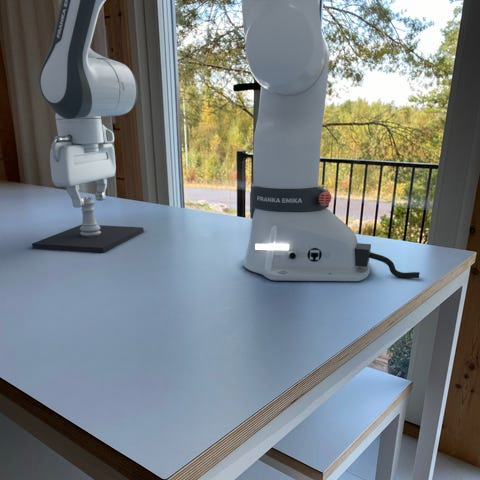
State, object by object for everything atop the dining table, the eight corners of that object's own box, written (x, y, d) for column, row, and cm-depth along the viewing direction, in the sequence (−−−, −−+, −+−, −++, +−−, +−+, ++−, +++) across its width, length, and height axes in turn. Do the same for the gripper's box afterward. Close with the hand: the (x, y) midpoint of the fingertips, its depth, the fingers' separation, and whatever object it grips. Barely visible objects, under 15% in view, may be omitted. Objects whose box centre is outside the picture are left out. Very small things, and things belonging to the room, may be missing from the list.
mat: (143, 231, 112) (143, 227, 112) (103, 252, 94) (103, 247, 94) (82, 228, 116) (81, 224, 115) (32, 248, 98) (31, 243, 97)
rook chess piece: (100, 232, 107) (96, 195, 104) (102, 236, 103) (97, 198, 100) (80, 233, 106) (75, 196, 103) (80, 237, 102) (75, 199, 99)
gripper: (66, 135, 87) (78, 212, 92) (117, 133, 105) (124, 197, 110) (36, 136, 88) (49, 211, 93) (91, 133, 106) (99, 196, 112)
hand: (90, 203), depth 102 cm, fingers open, 8 cm apart
